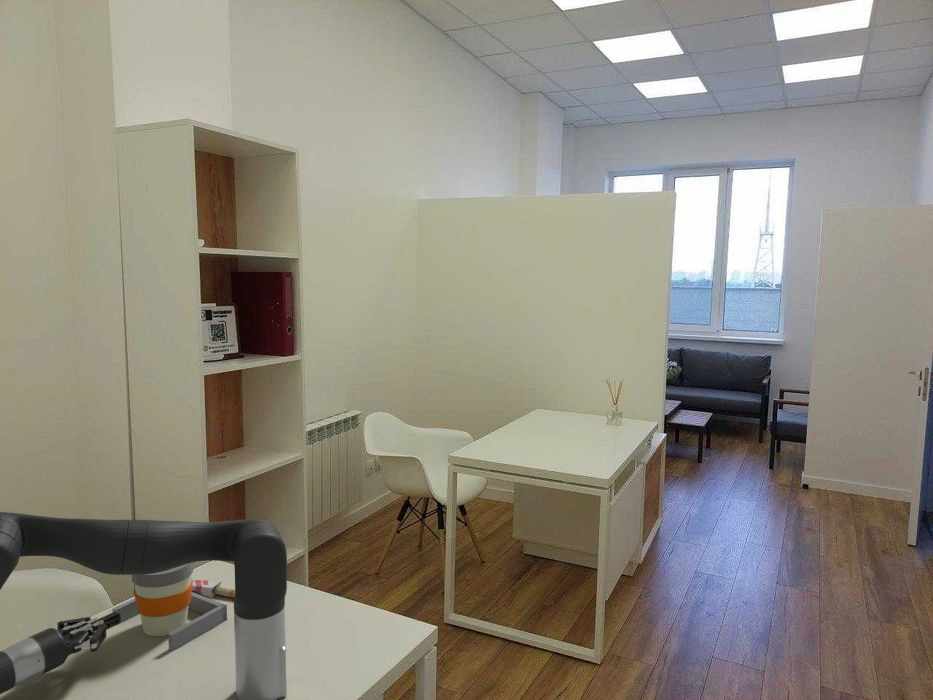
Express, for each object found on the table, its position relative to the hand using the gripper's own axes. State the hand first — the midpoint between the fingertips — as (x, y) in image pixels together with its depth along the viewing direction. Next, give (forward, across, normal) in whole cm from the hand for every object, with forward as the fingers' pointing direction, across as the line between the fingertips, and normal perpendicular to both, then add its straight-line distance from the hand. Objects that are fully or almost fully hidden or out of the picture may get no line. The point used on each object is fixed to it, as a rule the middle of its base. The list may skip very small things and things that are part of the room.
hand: (118, 616), depth 141 cm
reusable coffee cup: (+11, 0, +7) cm, 13 cm away
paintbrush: (+26, +1, +7) cm, 27 cm away
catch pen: (+12, 0, +7) cm, 14 cm away
